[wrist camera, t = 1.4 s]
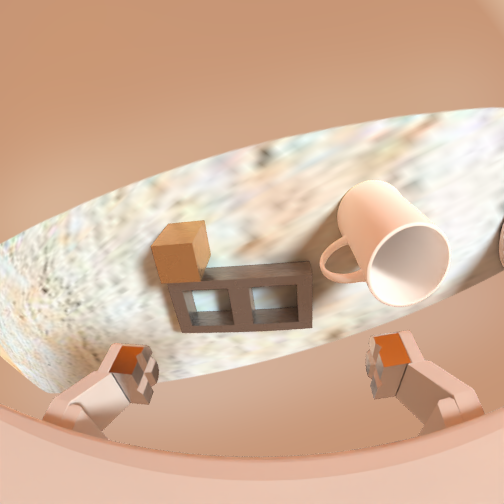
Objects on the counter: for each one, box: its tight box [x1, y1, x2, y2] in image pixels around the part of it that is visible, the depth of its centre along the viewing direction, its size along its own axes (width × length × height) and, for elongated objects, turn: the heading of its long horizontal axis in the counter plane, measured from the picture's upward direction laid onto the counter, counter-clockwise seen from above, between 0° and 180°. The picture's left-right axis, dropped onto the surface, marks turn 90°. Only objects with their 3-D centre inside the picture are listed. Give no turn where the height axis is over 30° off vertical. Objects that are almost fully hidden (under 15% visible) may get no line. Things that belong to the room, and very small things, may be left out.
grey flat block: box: [167, 261, 312, 333], centre depth 38 cm, size 17×8×3 cm, turn 96°
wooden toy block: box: [151, 220, 211, 283], centre depth 33 cm, size 4×4×6 cm
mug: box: [320, 180, 451, 307], centre depth 28 cm, size 12×8×12 cm
